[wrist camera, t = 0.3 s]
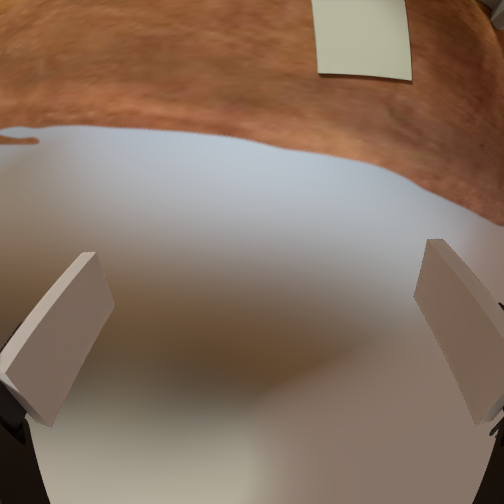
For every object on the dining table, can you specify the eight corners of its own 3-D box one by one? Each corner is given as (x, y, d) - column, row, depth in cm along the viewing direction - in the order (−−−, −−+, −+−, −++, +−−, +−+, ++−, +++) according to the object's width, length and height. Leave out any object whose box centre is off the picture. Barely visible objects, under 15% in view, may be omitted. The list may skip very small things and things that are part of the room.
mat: (303, -56, 22) (303, -58, 21) (393, -44, 21) (395, -46, 20) (317, 73, 31) (318, 73, 30) (409, 80, 30) (411, 80, 29)
